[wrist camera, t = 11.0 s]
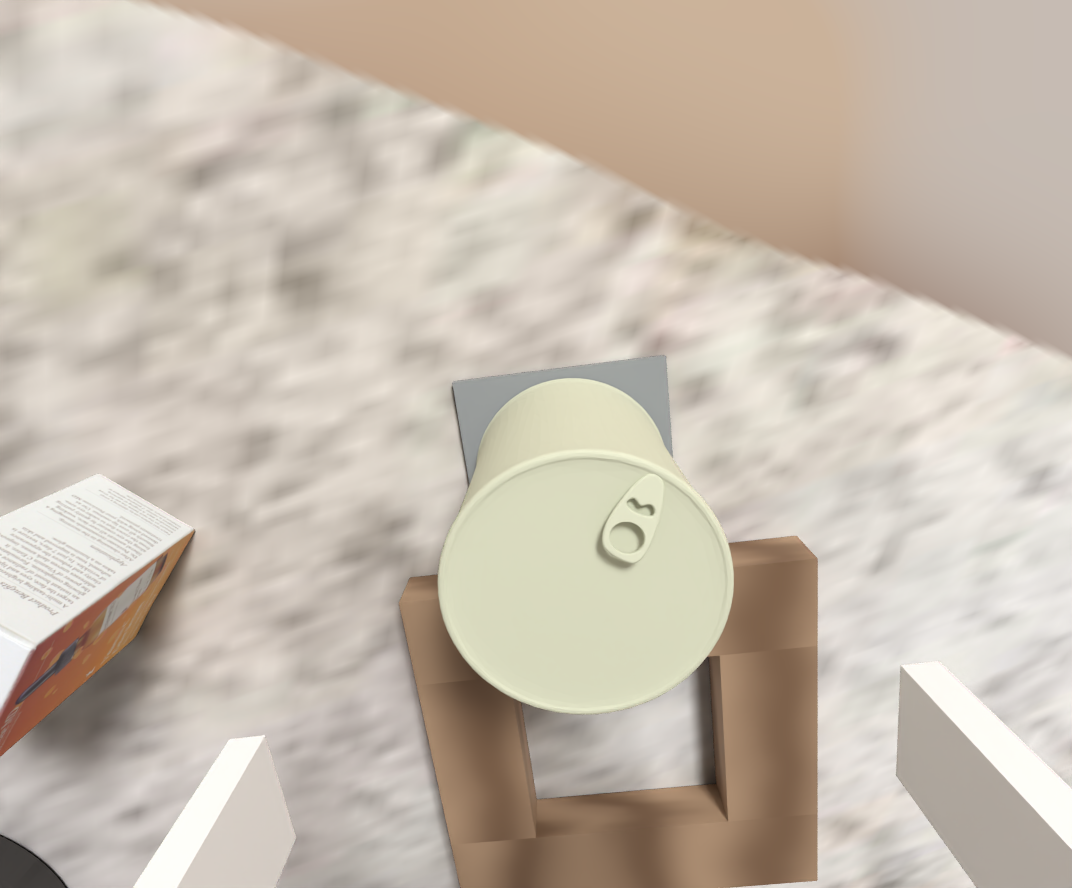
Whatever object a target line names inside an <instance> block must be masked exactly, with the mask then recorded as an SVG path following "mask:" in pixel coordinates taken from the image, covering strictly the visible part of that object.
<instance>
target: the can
mask: <svg viewBox="0 0 1072 888" xmlns="http://www.w3.org/2000/svg"><path fill="white" fill-rule="evenodd" d="M733 589H734V571H733V562H732V557H731V553H730V548H729V544H728V541H727V538H726V536H725V534H724V531H723V529H722V527H721V525H720V523H719V521H718V519H717V518H716V516H715V515H714V513H713V511H712V510H711V508H710V507H709V506H708V504H707V503H706V502H705V501H704V499H703V498H702V497H701V496H700V495H699V494H698V493H697V492H696V491H695V490H694V489H693V488H692V486H691V485H690V483H689V482H688V480H687V479H686V477H685V476H684V474H683V473H682V472H681V470H680V469H679V467H678V466H677V464H676V463H675V461H674V460H673V458H672V457H671V455H670V454H669V452H668V450H667V449H666V447H665V446H664V443H663V440H662V437H661V435H660V433H659V430H658V428H657V427H656V425H655V423H654V421H653V420H652V418H651V417H650V416H649V414H648V413H647V412H646V411H645V409H644V408H643V407H642V406H641V405H640V404H638V403H637V402H636V401H635V400H634V399H633V398H631V397H630V396H629V395H627V394H626V393H624V392H622V391H621V390H619V389H617V388H615V387H612V386H610V385H608V384H605V383H602V382H598V381H594V380H589V379H581V378H564V379H556V380H551V381H547V382H543V383H540V384H537V385H535V386H532V387H530V388H528V389H526V390H524V391H522V392H521V393H519V394H518V395H516V396H515V397H513V398H512V399H511V400H509V401H508V402H507V403H506V404H505V405H504V406H503V407H502V408H501V409H500V410H499V411H498V412H497V413H496V415H495V416H494V418H493V419H492V420H491V422H490V423H489V425H488V427H487V429H486V431H485V433H484V435H483V437H482V440H481V443H480V446H479V450H478V455H477V463H476V468H475V471H474V474H473V477H472V480H471V483H470V485H469V488H468V490H467V493H466V496H465V498H464V501H463V503H462V506H461V508H460V511H459V514H458V516H457V517H456V519H455V521H454V523H453V524H452V526H451V528H450V530H449V532H448V535H447V537H446V540H445V543H444V546H443V549H442V553H441V557H440V561H439V568H438V597H439V603H440V609H441V613H442V617H443V621H444V623H445V626H446V629H447V631H448V633H449V635H450V637H451V639H452V641H453V643H454V645H455V646H456V648H457V649H458V651H459V652H460V654H461V655H462V657H463V658H464V659H465V660H466V662H467V663H468V664H469V665H470V666H471V667H472V669H473V670H474V671H476V672H477V673H478V674H479V675H480V676H481V677H482V678H483V679H484V680H486V681H487V682H488V683H490V684H491V685H492V686H494V687H495V688H497V689H498V690H499V691H501V692H503V693H504V694H506V695H508V696H509V697H511V698H514V699H516V700H518V701H520V702H523V703H526V704H528V705H531V706H533V707H536V708H540V709H544V710H549V711H553V712H558V713H567V714H602V713H610V712H615V711H619V710H624V709H629V708H632V707H635V706H637V705H640V704H643V703H646V702H648V701H650V700H653V699H655V698H657V697H659V696H661V695H662V694H664V693H666V692H668V691H669V690H671V689H672V688H674V687H676V686H677V685H678V684H679V683H681V682H682V681H683V680H685V679H686V678H687V677H688V676H689V675H691V674H692V673H693V672H694V671H695V670H696V669H697V668H698V667H699V666H700V665H701V663H702V662H703V661H704V660H705V659H706V657H707V656H708V655H709V653H710V652H711V651H712V649H713V647H714V646H715V644H716V643H717V641H718V640H719V638H720V636H721V634H722V632H723V629H724V627H725V624H726V622H727V619H728V615H729V612H730V608H731V604H732V598H733Z"/></svg>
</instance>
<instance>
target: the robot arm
mask: <svg viewBox="0 0 1072 888" xmlns="http://www.w3.org/2000/svg"><path fill="white" fill-rule="evenodd" d="M896 776H897V777H898V779H899V780H900V781H901V783H902V784H903V786H904V787H905V788H906V790H907V791H908V793H909V794H910V795H911V797H912V798H913V800H914V801H915V802H916V804H917V805H918V807H919V808H920V809H921V811H922V812H923V814H924V815H925V816H926V818H927V819H928V821H929V822H930V823H931V825H932V826H933V828H934V829H935V830H936V832H937V833H938V835H939V836H940V837H941V839H942V840H943V841H944V843H945V844H946V846H947V847H948V848H949V850H950V851H951V853H952V854H953V855H954V857H955V858H956V860H957V861H958V862H959V864H960V865H961V867H962V868H963V869H964V871H965V872H966V874H967V875H968V876H969V878H970V879H971V881H972V882H973V883H974V885H975V886H976V888H1072V789H1071V788H1070V787H1069V786H1068V785H1067V784H1066V783H1065V782H1064V781H1063V780H1062V779H1061V778H1060V777H1059V776H1058V775H1057V774H1056V773H1055V772H1054V771H1053V770H1052V769H1051V768H1049V767H1048V766H1047V765H1046V764H1045V763H1044V762H1043V761H1042V760H1041V759H1040V758H1039V757H1038V756H1037V755H1036V754H1035V753H1034V752H1033V751H1032V750H1031V749H1030V748H1029V747H1028V746H1027V745H1026V744H1025V743H1024V742H1023V741H1021V740H1020V739H1019V738H1018V737H1017V736H1016V735H1015V734H1014V733H1013V732H1012V731H1011V730H1010V729H1009V728H1008V727H1007V726H1006V725H1005V724H1004V723H1003V722H1002V721H1001V720H1000V719H999V718H998V717H997V716H996V715H995V714H993V713H992V712H991V711H990V710H989V709H988V708H987V707H986V706H985V705H984V704H983V703H982V702H981V701H980V700H979V699H978V698H977V697H976V696H975V695H974V694H973V693H972V692H971V691H970V690H969V689H968V688H967V687H965V686H964V685H963V684H962V683H961V682H960V681H959V680H958V679H957V678H956V677H955V676H954V675H953V674H952V673H951V672H950V671H949V670H948V669H947V668H946V667H945V666H944V665H943V664H942V663H941V662H940V661H935V662H926V663H917V664H907V665H901V668H900V692H899V716H898V740H897V765H896ZM295 840H296V835H295V832H294V829H293V825H292V822H291V819H290V815H289V812H288V809H287V806H286V802H285V799H284V796H283V792H282V789H281V786H280V782H279V779H278V776H277V772H276V769H275V766H274V762H273V759H272V756H271V752H270V749H269V746H268V743H267V739H266V736H265V735H263V736H254V737H245V738H236V739H229V741H228V742H227V744H226V745H225V747H224V749H223V750H222V752H221V753H220V755H219V756H218V758H217V759H216V761H215V762H214V764H213V765H212V767H211V768H210V770H209V772H208V773H207V775H206V776H205V778H204V779H203V781H202V782H201V784H200V785H199V787H198V788H197V790H196V792H195V793H194V795H193V796H192V798H191V799H190V801H189V802H188V804H187V805H186V807H185V808H184V810H183V811H182V813H181V815H180V816H179V818H178V819H177V821H176V822H175V824H174V825H173V827H172V828H171V830H170V831H169V833H168V835H167V836H166V838H165V839H164V841H163V842H162V844H161V845H160V847H159V848H158V850H157V851H156V853H155V854H154V856H153V858H152V859H151V861H150V862H149V864H148V865H147V867H146V868H145V870H144V871H143V873H142V874H141V876H140V877H139V879H138V881H137V882H136V884H135V885H134V887H133V888H275V887H276V885H277V883H278V880H279V878H280V875H281V873H282V871H283V868H284V866H285V864H286V861H287V859H288V856H289V854H290V852H291V849H292V847H293V845H294V842H295ZM0 888H65V886H64V885H63V884H62V882H61V881H60V880H59V879H58V877H57V876H56V875H55V874H54V873H53V872H52V871H51V870H50V869H49V868H48V867H47V866H46V865H45V864H44V863H42V862H41V861H40V860H39V859H38V858H36V857H35V856H34V855H32V854H31V853H29V852H28V851H26V850H25V849H23V848H22V847H20V846H19V845H17V844H15V843H13V842H11V841H10V840H8V839H6V838H3V837H1V836H0Z"/></svg>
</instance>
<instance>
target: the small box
mask: <svg viewBox="0 0 1072 888" xmlns="http://www.w3.org/2000/svg"><path fill="white" fill-rule="evenodd" d="M194 531H195V529H194V528H193V527H191V526H189V525H187V524H186V523H184V522H182V521H180V520H178V519H177V518H175V517H173V516H172V515H170V514H168V513H167V512H165V511H163V510H161V509H160V508H158V507H156V506H155V505H153V504H151V503H149V502H148V501H146V500H144V499H142V498H141V497H139V496H137V495H136V494H134V493H132V492H130V491H129V490H127V489H125V488H124V487H122V486H120V485H118V484H117V483H115V482H113V481H112V480H110V479H108V478H107V477H105V476H103V475H101V474H95V475H93V476H91V477H89V478H87V479H84V480H82V481H80V482H78V483H75V484H73V485H71V486H69V487H67V488H64V489H62V490H60V491H57V492H55V493H53V494H51V495H48V496H46V497H44V498H42V499H40V500H37V501H35V502H33V503H30V504H28V505H26V506H23V507H21V508H19V509H17V510H15V511H12V512H10V513H8V514H6V515H3V516H1V517H0V756H2V755H3V754H4V753H5V752H6V751H7V750H8V749H9V748H11V747H12V746H13V745H14V744H15V743H16V742H17V741H19V740H20V739H21V738H22V737H23V736H24V735H25V734H27V733H28V732H29V731H30V730H31V729H32V728H33V727H35V726H36V725H37V724H38V723H39V722H40V721H41V720H42V719H44V718H45V717H46V716H47V715H48V714H49V713H50V712H52V711H53V710H54V709H55V708H56V707H57V706H58V705H60V704H61V703H62V702H63V701H64V700H65V699H66V698H67V697H69V696H70V695H71V694H72V693H73V692H74V691H75V690H76V689H78V688H79V687H80V686H81V685H82V684H83V683H85V682H86V681H87V680H88V679H89V678H90V677H91V676H92V675H94V674H95V673H96V672H97V671H98V670H99V669H100V668H101V667H103V666H104V665H105V664H106V663H107V662H108V661H109V660H111V659H112V658H113V657H114V656H115V655H116V654H117V653H118V652H119V651H121V650H122V649H123V648H124V647H125V646H126V645H127V644H129V643H130V642H131V641H132V640H133V639H134V638H135V637H136V635H137V633H138V631H139V629H140V627H141V625H142V623H143V621H144V619H145V617H146V615H147V613H148V612H149V610H150V608H151V606H152V604H153V603H154V601H155V599H156V597H157V595H158V594H159V592H160V590H161V589H162V587H163V585H164V584H165V582H166V580H167V578H168V577H169V575H170V573H171V572H172V570H173V568H174V566H175V565H176V563H177V561H178V559H179V558H180V556H181V554H182V552H183V551H184V549H185V547H186V545H187V544H188V542H189V540H190V538H191V537H192V535H193V533H194Z"/></svg>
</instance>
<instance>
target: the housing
mask: <svg viewBox="0 0 1072 888" xmlns="http://www.w3.org/2000/svg"><path fill="white" fill-rule="evenodd" d="M728 544H729V548H730V553H731V557H732V562H733V571H734V589H733V598H732V604H731V608H730V612H729V615H728V619H727V622H726V624H725V627H724V629H723V632H722V634H721V636H720V638H719V640H718V641H717V643H716V644H715V646H714V647H713V649H712V651H711V652H710V653H709V655H708V656H707V657H709V671H710V688H711V706H712V723H713V741H714V758H715V775H716V784H708V785H697V786H685V787H674V788H662V789H651V790H640V791H628V792H617V793H606V794H594V795H583V796H571V797H560V798H549V799H537V798H536V792H535V786H534V779H533V773H532V767H531V761H530V755H529V748H528V742H527V736H526V730H525V723H524V717H523V711H522V705H521V702H520V701H518V700H516V699H514V698H511V697H509V696H508V695H506V694H504V693H503V692H501V691H499V690H498V689H497V688H495V687H494V686H492V685H491V684H490V683H488V682H487V681H486V680H484V679H483V678H482V677H481V676H480V675H479V674H478V673H477V672H476V671H474V670H473V669H472V667H471V666H470V665H469V664H468V663H467V662H466V660H465V659H464V658H463V657H462V655H461V654H460V652H459V651H458V649H457V648H456V646H455V645H454V643H453V641H452V639H451V637H450V635H449V633H448V631H447V629H446V626H445V623H444V621H443V617H442V613H441V609H440V603H439V597H438V575H430V576H421V577H411V578H410V579H409V581H408V583H407V586H406V588H405V590H404V592H403V595H402V597H401V599H400V601H399V606H400V611H401V615H402V620H403V625H404V629H405V634H406V638H407V643H408V648H409V652H410V657H411V662H412V666H413V671H414V675H415V680H416V685H417V689H418V694H419V699H420V703H421V708H422V713H423V717H424V722H425V726H426V731H427V736H428V740H429V745H430V750H431V754H432V759H433V763H434V768H435V773H436V777H437V782H438V787H439V791H440V796H441V801H442V805H443V810H444V814H445V819H446V824H447V828H448V833H449V838H450V842H451V847H452V851H453V856H454V861H455V865H456V870H457V875H458V879H459V884H460V888H730V887H743V886H755V885H768V884H781V883H793V882H806V881H817V618H818V559H817V557H816V556H815V555H814V554H813V553H812V552H811V551H810V550H809V549H808V548H807V547H806V546H805V544H804V543H803V542H802V541H801V540H800V539H799V538H798V537H797V536H790V537H781V538H772V539H762V540H753V541H744V542H735V543H728Z"/></svg>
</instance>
